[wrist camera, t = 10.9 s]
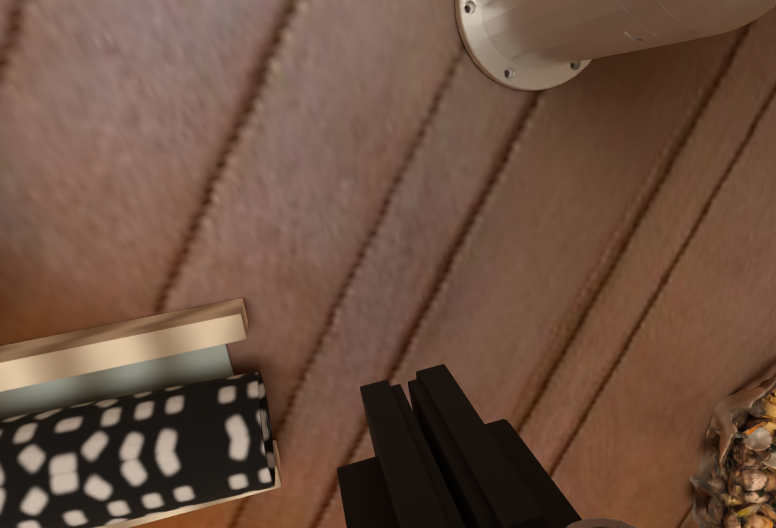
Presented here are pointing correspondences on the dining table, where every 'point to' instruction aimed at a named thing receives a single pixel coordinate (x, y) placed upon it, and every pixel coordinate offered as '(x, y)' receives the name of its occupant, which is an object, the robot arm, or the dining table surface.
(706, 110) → the dining table surface
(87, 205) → the dining table surface
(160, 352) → the open-ended tray
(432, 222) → the dining table surface
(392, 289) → the dining table surface
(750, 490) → the food dish
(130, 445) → the spotted tube
